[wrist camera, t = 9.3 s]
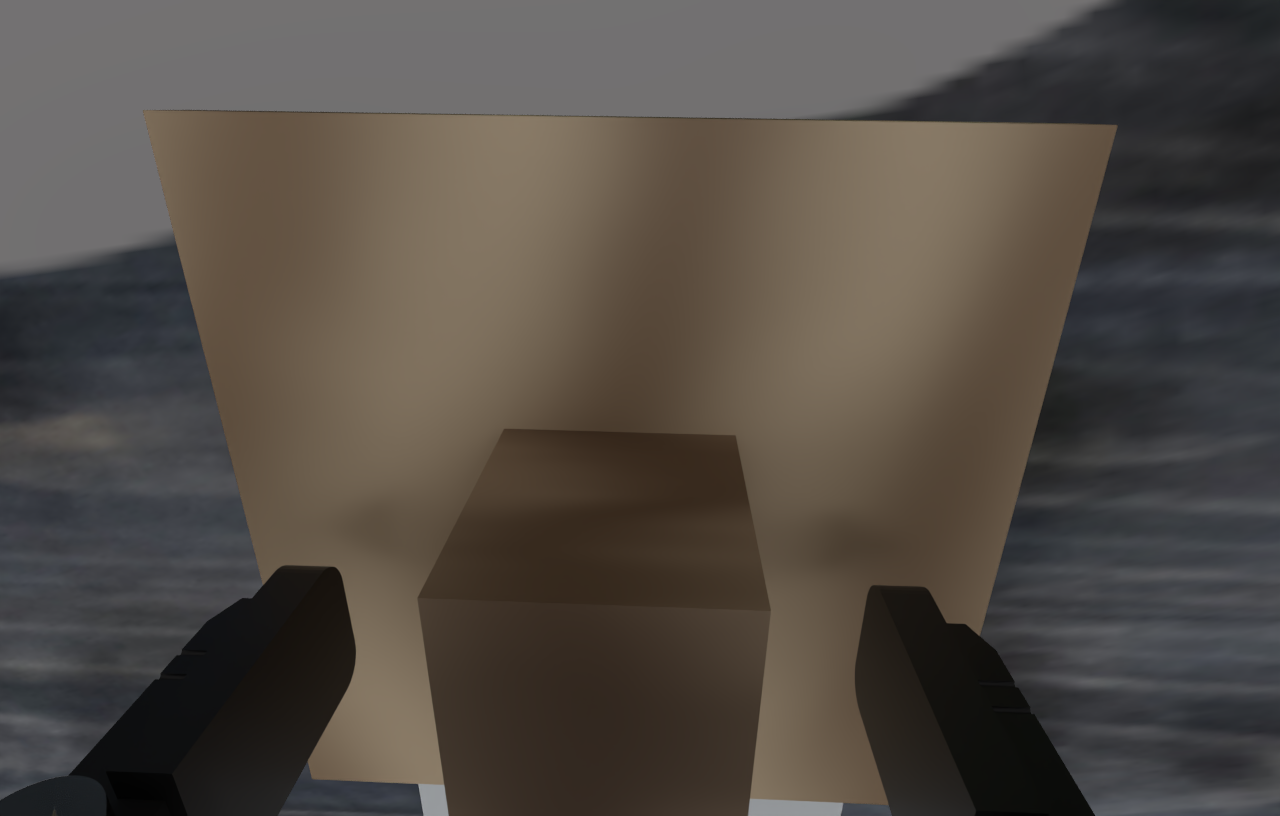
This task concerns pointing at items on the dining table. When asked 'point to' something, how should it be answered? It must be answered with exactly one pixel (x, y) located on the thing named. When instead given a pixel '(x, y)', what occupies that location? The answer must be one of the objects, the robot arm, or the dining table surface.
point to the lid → (624, 420)
